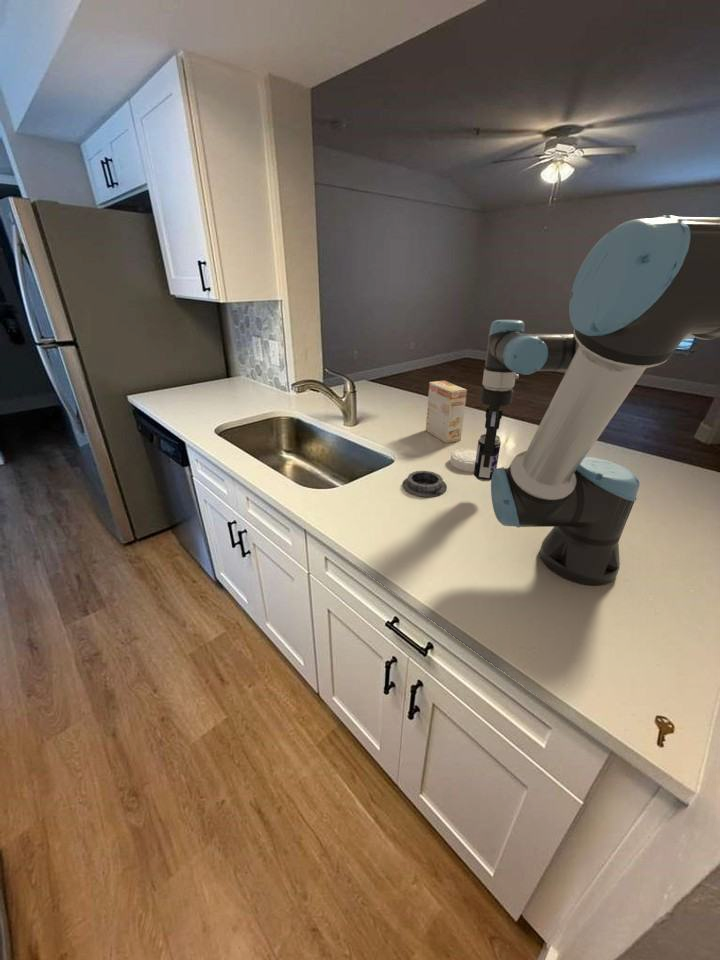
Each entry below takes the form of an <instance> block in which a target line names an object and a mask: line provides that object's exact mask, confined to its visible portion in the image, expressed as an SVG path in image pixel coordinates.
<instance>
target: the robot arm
mask: <svg viewBox="0 0 720 960" xmlns="http://www.w3.org/2000/svg"><path fill="white" fill-rule="evenodd" d="M571 293H572V297H571V298H570V300H569V305H568V306H569V307H568V311H569V313H568V314H569V319H570V322H571V324H572V327H573V329H574V330H573V333H525V322H524V321H523V320H519V319H496V320H494V321H492V322H491V323H490V324H491V325H490V328H489V329H490V330H489V332H488V333H489V334H488V335H487V336H488V337H487V338H488V341H487V348H486V349H487V350H486V356H485V357H486V358H485V362H484V369H483V377H482V385H483V387H482V388H481V391H480V392H481V393H480V402H481V403H482V404H484V405H486V406H489V407H487V408H486V411H485V424H484V427H485V429H486V430H485V434H486V436H485V443H484V450H483V452H480V455H482V459H481V466H480V473H479V477H485V478H490V471H491V465H492V459H493V455H494V453H493V451H494V445H495V439H496V435H497V432H498V430H499V429H500V423H501V419H502V416H503V409H501V407H507V406H510V405H511V404H512V401H513V397H514V389H513V388H514V387H515V383H516V379H519V377H520V376H519V375H520V374H521V375H524V376H525V375H526V376H527V375H532V374H534V373H536V372H553V371H554V372H556V371H560V372H561V371H565V373H564V375H563V378H561V381H560V384H559V385H558V387H557V390H556V392H555V393H554V395H553V397H552V400H551V401H550V403H549V406H548V407H547V409H546V411H545V412H544V416H543V418H542V420H541V421H540V424H539V426H538V428H537V429H536V431H535V434H534V435H533V437H532V439H531V441H530V444H529V445H528V447H527V450H525V451H521V452H520V453H518V454H516V455H515V456H514V458H513V459H512V461H511V462H510V464H509V467H503V466H502V467H501V468H499V467H498V468H496V469H495V470H494V472H493V474H492V479H491V481H490V495H491V504H492V508H493V512H494V515H495V518H496V519H497V521H498V523H500V524H501V525H502V526H504V527H516V528H535V527H536V528H537V527H538V528H539V527H540V528H541V527H543V528H544V527H548V528H549V527H553V528H552V529H551V530H550V531H549V532H548V533H547V535H546V536H545V538H543V540H542V542H541V545H540V549H539V556H540V559H541V561H542V562H543V563H544V565H545V566H546V567H547V569H548V570H551V571H552V572H553V573H555V574H557V576H560V577H561V578H563V579H566V580H568V581H571V582H574V583H577V584H581V585H586V586H588V585H589V586H602V585H607V584H610V583H611V582H613V581H614V580H615V579H616V578H617V575H618V573H619V570H620V565H621V562H620V561H621V560H620V559H621V558H620V544H619V542H620V539H621V536H622V534H623V531H624V529H625V526H626V524H627V521H628V518H629V516H630V513H631V511H632V509H633V507H634V503H635V502H636V501H637V500H638V498H637V496H638V491H639V488H640V480H639V478H638V476H637V475H636V474H635V473H634V472H632V471H631V470H630V469H628V468H626V467H624V466H623V465H621V464H618V463H615V462H614V461H610V460H607V459H603V458H599V457H595V456H594V457H592V456H587V455H588V454H589V452H590V451H591V450H592V447H594V445H595V444H596V441H598V439H599V438H600V437H601V435H602V433H603V432H604V431H605V429H606V427H607V426H608V424H609V423H610V421H611V420H612V418H613V417H614V415H615V414H616V413H617V412H618V409H619V408H620V407H621V406H622V404H623V402H624V401H625V399H626V398H627V397H628V395H629V393H630V392H631V391H632V389H633V388H634V386H635V385H636V383H638V380H639V379H640V378H641V376H642V375H643V374H644V372H645V370H646V369H648V368H653V367H657V366H658V367H659V366H660V365H662V364H664V363H666V362H667V361H668V360H670V357H672V355H673V354H674V353H675V351H676V350H677V348H678V347H679V346H680V344H681V343H682V342H683V341H685V340H688V339H692V338H695V339H699V340H715V339H719V338H720V217H719V216H716V217H715V216H714V217H708V216H707V217H706V216H705V217H703V216H702V217H701V216H700V217H699V216H698V217H696V216H676V215H675V214H672V215H671V214H669V215H661V216H656V217H651V218H637V219H636V218H635V219H631V220H628V221H625V222H623V223H621V224H618V225H617V226H616V227H615V228H614V229H611V230H610V231H608V232H606V234H604V235H603V236H602V237H601V238H600V239H599V240H598V241H597V242H596V244H595V245H594V246H593V247H592V248H591V249H590V251H589V252H588V253H587V256H586V257H585V258H584V260H583V262H582V263H581V266H580V267H579V270H578V272H577V274H576V276H575V279H574V281H573V284H572V289H571Z"/></svg>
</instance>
